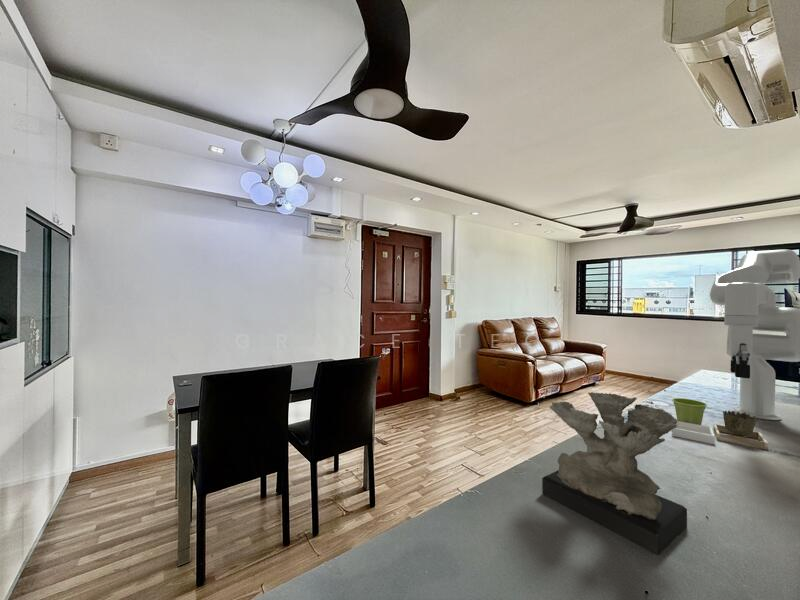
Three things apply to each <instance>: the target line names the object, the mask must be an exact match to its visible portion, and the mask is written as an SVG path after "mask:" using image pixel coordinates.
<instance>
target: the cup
mask: <svg viewBox="0 0 800 600" xmlns="http://www.w3.org/2000/svg"><path fill="white" fill-rule="evenodd" d="M722 414H723V422H724V426H725V427H726V429H727V430H728V431H729V432H731V433H730V435H731V436H737V437H742V438H747V439H748V437H747V436H749V435H751V434H752V433H753V431H755V425H756V420H757V418H756V417H755V416H753V417H750V414H748V415H747V414H746V413H741V414H740V413H739V412H737V413H736V412H735V411H734V410H732V411H731V410H728V411H727V410H722Z"/></svg>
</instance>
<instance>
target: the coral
mask: <svg viewBox="0 0 800 600" xmlns="http://www.w3.org/2000/svg"><path fill="white" fill-rule="evenodd" d="M587 394H588V396H589V397H590V399H591V400H592V402H593V403H594V405H595V407H596V408H597V412H598V413H599V414H597V413H588V412H586V411H583V410H579V409H576V408H575V406H574V405H573V403H570V402H568V401H560V402H558V401H556V402H554V401H552V402H551V405H549V408H550V409H551V410H552V411H553V412H554V413H555V414H556V415H557V416H558V417H559V418H561V420H562V421H563V423H565V424H566V425H567V426H568V427H569V428H571V429H572V430H574V431H575V432H576V433H577V434H578V435H579V436H580V437H581V438H582V439H583V442H584V444H585V445H586V451H582V450H577V451H575V452H574V453H571V454H570V455H569V454H568V453H565V452H561V453H560V455H559V456H558V458H557V463H558V469H557V470H556V471H553V472H551V473H549V474H547V475H545V476H544V477H542V478H541V480H542V482H541V483H542V484H541V485H542V486H541V487H542V488H541V489H542V491H541V492H542V494H543V495H544V496H546V497H548V498H549V499H550V498H551V500H554V501H556V502H558V503H560V504H562V505H563V506H565V507H567V508H569V509H571V510H573V511H575V512H576V513H579V514H580V515H582V516H583V517H586V518H587V519H589V520H591V521H593V522H595V523H597V524H599V525H601V526H603V527H604V528H606V529H608V530H610V531H611V532H613V533H615V534H617V535H619V536H622V537H623V538H625V539H627V540H629V541H630V542H632V543H634V544H636V545H638V546H640V547H642V548H644V549H646V550H647V551H649V552H651V553H653V554H655V555H658V556H659V555H660V554H661V553H662V552H663V551H664V550H665V549H666V548H667V547H668V546H670V544H671V543H672V542H673V541H674V540H675V539H676V538H677V537H679V536H680V534H682V533H683V531H685V530H686V528H687V527H688V509H687V508H686V507H685V506H684V505H682V504H679V503H677V502H675V501H673V500H669V499H668V498H665V497H662V496H660V495H657V492H658V490H660V489H661V487H660V486H659V485H658V484H657V483H656V482H654V480H653V479H652V478H651V477H650V476H649V474H647V473H644V472H643V471H642V470H640V469H639V468H638V460H637V458H636V456H638V455H643V454H645V453H647V452H649V451H650V450H652V449H653V448H654V447H655V446H657V445H659V444H662V443H664V442H666V439H665V438H664V437H663V436H664V435H666V434H669V432H671V431H672V429H674V428H676V427H677V425H676V423H677V418H675V417H674V416H673V415H672V414H671V413H670V412H667V411H666V410H664V409H662V408H656V407H653V406H648V405H645V404H636V403H635V405H634V409H633V408H632V409H628V411H627V420H626V422H625V416H623V411H624V410H625V409H626V408H627V407H629V406H630V405H633V403H634V402H636V400H637V397H635V396H634V397H628V396H622V395H620V394H617V393H606V392H605V393H603V392H593V391H592V392H587ZM599 415H600V417H601V420H602V421H601V420H598V422H597V419H598V417H599ZM598 423H599V424H600V426H601V427H602V429H603V435H604V436H603V438H601V437H599V436H598V435H597V434H596V430H597V427H598Z"/></svg>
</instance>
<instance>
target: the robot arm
mask: <svg viewBox="0 0 800 600" xmlns="http://www.w3.org/2000/svg"><path fill="white" fill-rule="evenodd" d="M798 255H799V254H798V253H796V252H795V251H794V250H792V249H785V248H784V249H773V250H772V249H770V250H769V249H768V250H756V251H751V252H748V253H746V254H745V255H742V256H741V258H740V260H739V263H738V265H737V266H736V268H735V269H733V270H731V271H728V272H725V273H723V274H720V275H719V276H718V277H716V278H715V280H714V281H713V283H712V286H711V288H710V292H709V296H710V297H709V298H710V300H711V302H712V303H713V304H714V305H717V306H724V315H723V316H724V317H723V319H724V320H723V321H724V326H728V328H727V335H726V337H727V338H726V339H727V340H726V355H728V356H729V357H730V373H734V377H735V378H739V406H736V407H733V411H734V412H735V414H736V413H737V412H739V413H740V414H741V413H746V414H747V415H748V414H750V417H752V418H753V416H755V417H756V419H760V420H767V421H780V420H781V419H782V416H781V415H780V414H779V413H776V370H775V369H774V367H773V366H772V365H770V363H769V362H767V360H769V361H770V360H771V361H779V362H780V361H781V362H790V363H794V362H795V363H798V362H800V308H797V307H789V306H788V307H787V306H786V307H785V306H784V307H783V306H781V307H780V306H777V303H776V302H777V294H776V293H775V292H774V291H773V290H772V289H771V288H770V287H769V286H768V285H766V284H775V283H777V284H778V283H779V284H780V283H782V284H784V283H794V282H796V281H798V280H800V257H799V256H798ZM753 331H757V332H772V333H773V332H776V333H777V332H778V333H784V334H786V335H783V334H781V335H780V334H769V333H768V334H767V333H766V334H765V333H753Z"/></svg>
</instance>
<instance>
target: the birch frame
mask: <svg viewBox="0 0 800 600" xmlns="http://www.w3.org/2000/svg"><path fill="white" fill-rule="evenodd" d="M712 430H713V433H714V436H715V438H716V440H717V441H723V442H727V443H732V444H735V445H736V444H737V445H741V446H746V447H751V448H757V449H762V450H763V449H764V450H766V451H768V449H769V442H768V441H767V440H766V438H765V437H764V435H763V434H762V433H761V432H760V431H755V430H753V433H752V434H751V435H749V436H746V437H747V438H742V437H737V436H731V432H729V431H728V430H727V429H726V427H725V425H721V424H716V423H713V428H712ZM725 433H726V434H725ZM727 433H728V434H727ZM748 437H749V438H748ZM752 438H753V439H752ZM756 439H757V440H756Z"/></svg>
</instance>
